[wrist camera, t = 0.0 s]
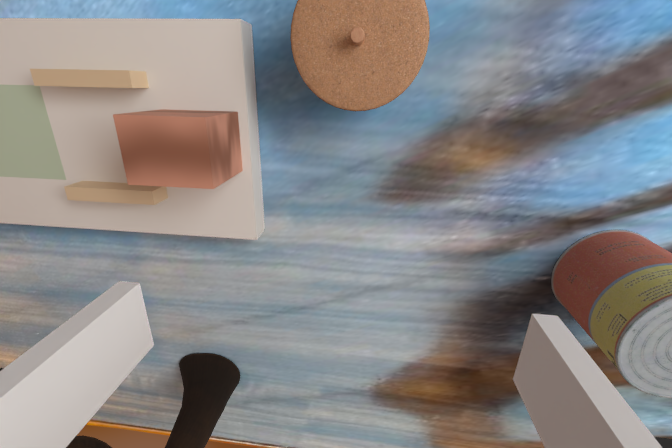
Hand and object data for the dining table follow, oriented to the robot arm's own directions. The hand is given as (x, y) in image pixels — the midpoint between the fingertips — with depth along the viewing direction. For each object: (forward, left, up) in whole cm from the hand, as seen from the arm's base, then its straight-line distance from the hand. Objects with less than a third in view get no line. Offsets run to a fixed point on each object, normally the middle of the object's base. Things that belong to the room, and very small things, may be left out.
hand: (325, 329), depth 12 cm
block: (-2, -16, -25) cm, 30 cm away
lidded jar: (-11, 0, -28) cm, 30 cm away
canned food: (+12, +29, -28) cm, 42 cm away
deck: (-2, -33, -28) cm, 44 cm away
